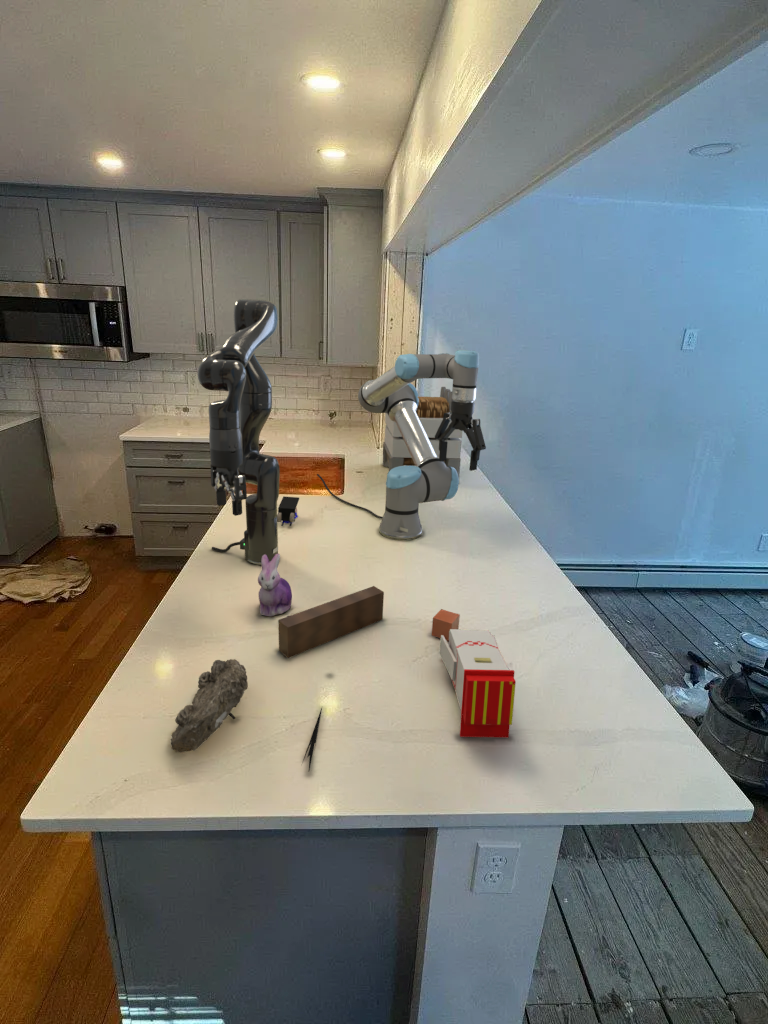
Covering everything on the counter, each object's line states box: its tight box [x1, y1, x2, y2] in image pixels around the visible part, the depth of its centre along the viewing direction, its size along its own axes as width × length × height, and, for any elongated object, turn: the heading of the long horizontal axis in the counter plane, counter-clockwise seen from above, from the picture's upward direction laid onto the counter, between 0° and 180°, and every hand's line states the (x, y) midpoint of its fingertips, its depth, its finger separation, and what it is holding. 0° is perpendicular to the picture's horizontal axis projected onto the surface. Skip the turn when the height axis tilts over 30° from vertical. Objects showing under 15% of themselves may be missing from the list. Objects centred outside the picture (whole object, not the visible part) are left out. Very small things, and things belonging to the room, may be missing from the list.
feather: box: [301, 673, 332, 771], centre depth 108 cm, size 2×28×2 cm
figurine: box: [257, 553, 293, 617], centre depth 145 cm, size 9×10×15 cm
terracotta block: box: [431, 608, 461, 642], centre depth 139 cm, size 5×5×5 cm
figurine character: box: [277, 495, 300, 527], centre depth 205 cm, size 7×8×15 cm
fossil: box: [170, 658, 249, 753], centre depth 106 cm, size 22×10×15 cm
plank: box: [277, 585, 385, 659], centre depth 136 cm, size 28×4×8 cm, turn 131°
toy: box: [438, 628, 517, 738], centre depth 117 cm, size 12×13×30 cm
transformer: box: [381, 386, 464, 479], centre depth 268 cm, size 34×33×41 cm
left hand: (229, 509), depth 140 cm, fingers open, 8 cm apart
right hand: (457, 465), depth 188 cm, fingers open, 13 cm apart
